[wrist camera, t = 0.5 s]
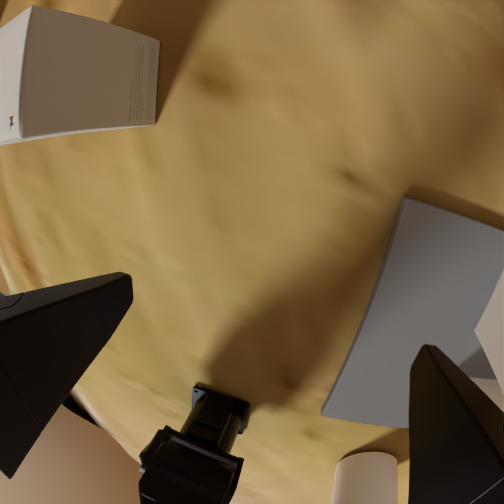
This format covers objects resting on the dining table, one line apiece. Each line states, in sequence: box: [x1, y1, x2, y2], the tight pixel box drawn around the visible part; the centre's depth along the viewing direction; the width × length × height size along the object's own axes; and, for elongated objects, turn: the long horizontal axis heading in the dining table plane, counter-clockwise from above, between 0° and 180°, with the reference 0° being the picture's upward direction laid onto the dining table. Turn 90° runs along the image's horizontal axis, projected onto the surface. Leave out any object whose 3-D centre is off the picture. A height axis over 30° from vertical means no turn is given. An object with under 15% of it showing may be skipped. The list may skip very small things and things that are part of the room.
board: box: [321, 195, 504, 429], centre depth 21 cm, size 22×19×1 cm
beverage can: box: [331, 452, 398, 504], centre depth 25 cm, size 8×8×12 cm
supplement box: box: [0, 5, 160, 146], centre depth 15 cm, size 7×7×13 cm
